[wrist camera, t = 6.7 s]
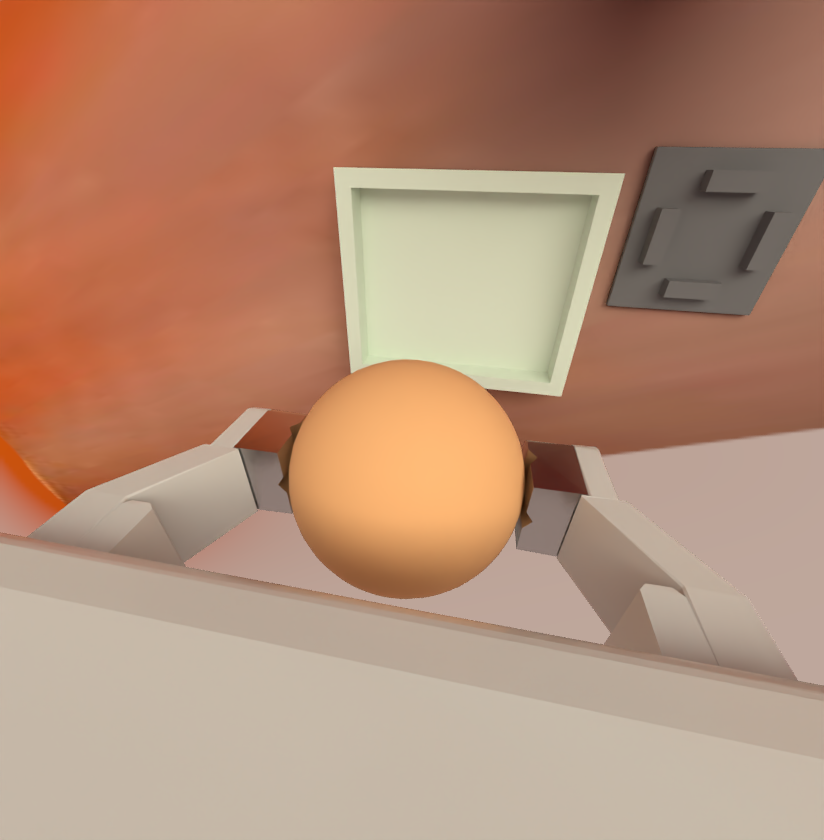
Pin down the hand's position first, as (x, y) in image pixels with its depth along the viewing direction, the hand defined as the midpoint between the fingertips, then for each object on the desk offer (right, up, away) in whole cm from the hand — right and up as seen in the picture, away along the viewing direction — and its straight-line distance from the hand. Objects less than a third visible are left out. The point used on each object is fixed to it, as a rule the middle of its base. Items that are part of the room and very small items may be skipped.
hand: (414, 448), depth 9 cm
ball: (0, +1, +1) cm, 2 cm away
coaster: (+14, +10, +9) cm, 19 cm away
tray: (+3, +9, +12) cm, 15 cm away
